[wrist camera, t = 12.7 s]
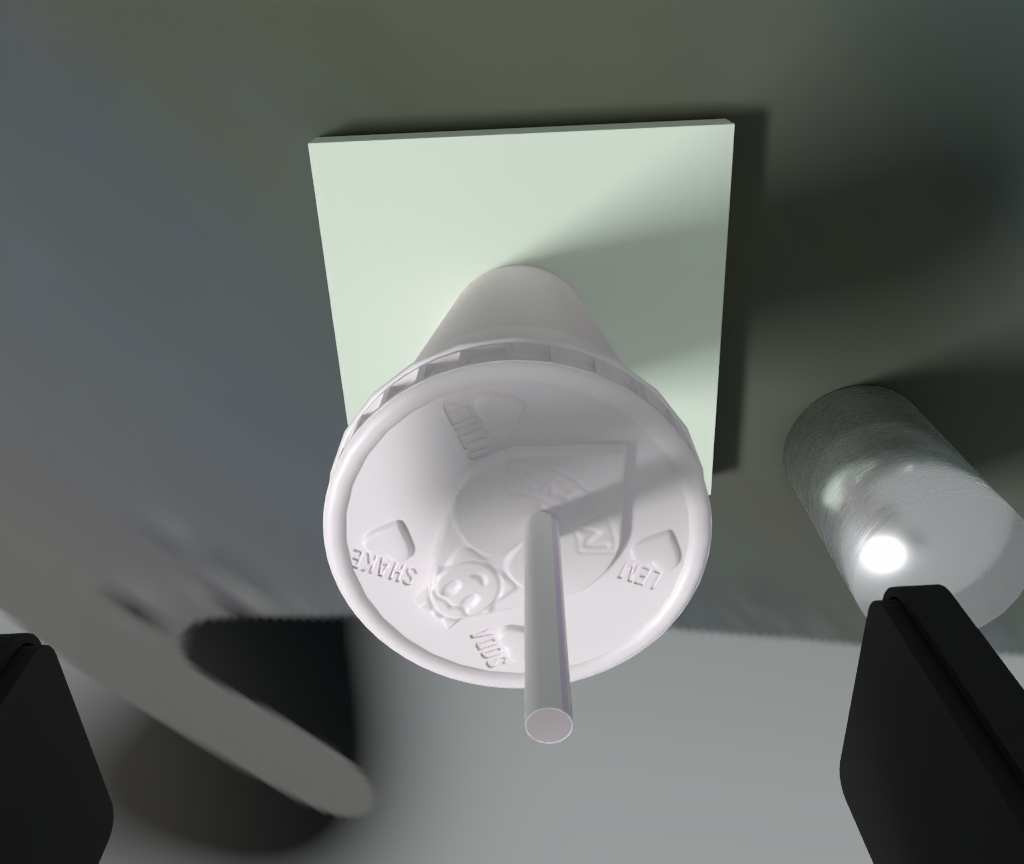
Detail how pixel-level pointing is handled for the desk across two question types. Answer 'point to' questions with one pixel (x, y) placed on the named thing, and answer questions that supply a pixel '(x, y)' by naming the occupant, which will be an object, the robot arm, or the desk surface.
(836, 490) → the set of grey cylinders
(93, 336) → the desk surface
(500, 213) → the coaster mat
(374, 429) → the smoothie
